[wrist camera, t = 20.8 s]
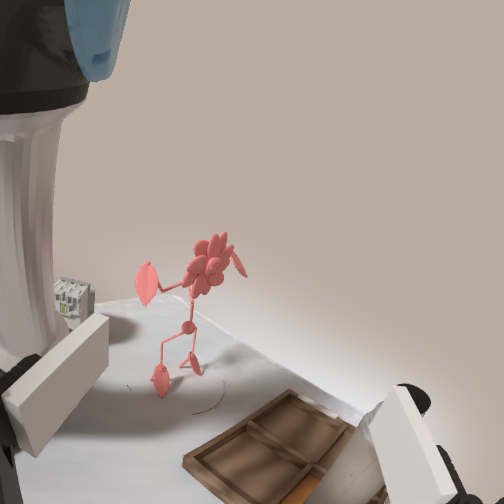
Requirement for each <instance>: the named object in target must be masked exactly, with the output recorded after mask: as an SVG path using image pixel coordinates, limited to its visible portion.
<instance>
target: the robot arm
mask: <svg viewBox="0 0 504 504" xmlns="http://www.w3.org/2000/svg"><path fill="white" fill-rule="evenodd" d="M130 1H131V0H0V504H23V500H22V496H21V491H20V487H19V482H18V476H17V471H16V465H15V459H14V452H13V449H14V447H15V446H16V444H17V442H18V444H19V447H20V448H21V449H22V450H24V451H25V452H27V453H29V454H30V455H32V456H33V457H35V458H37V457H38V455H39V454H40V453H41V451H42V450H43V449H44V447H45V446H46V445H47V443H48V442H49V441H50V439H51V438H52V437H53V435H54V434H55V433H56V431H57V430H58V429H59V427H60V426H61V425H62V424H63V422H64V421H65V420H66V418H67V417H68V416H69V414H70V413H71V412H72V411H73V410H74V409H76V408H77V407H78V405H79V403H80V400H81V399H82V398H83V397H84V395H85V394H86V393H87V392H88V390H89V389H90V388H91V387H92V385H93V384H94V383H95V382H96V380H97V379H98V378H99V377H100V375H101V374H102V373H103V372H104V370H105V369H106V368H107V367H108V349H109V319H110V317H107V316H104V315H102V314H99V313H96V312H95V313H93V314H92V315H91V316H90V317H89V318H88V319H86V320H85V321H84V322H83V323H82V324H80V325H79V326H78V327H77V328H76V329H75V330H73V329H72V328H68V325H67V323H66V321H65V319H64V318H63V316H62V315H61V314H60V313H59V312H58V311H57V310H56V307H55V296H54V281H53V259H52V221H53V196H54V183H55V171H56V161H57V152H58V145H59V138H60V131H61V125H62V122H63V120H64V119H65V118H66V117H67V116H68V115H70V114H71V113H72V112H73V111H75V110H76V109H77V108H79V107H80V106H81V105H82V104H83V103H84V102H85V100H86V96H87V92H88V87H89V83H90V81H92V82H98V81H100V80H105V79H107V78H109V77H110V75H111V74H112V71H113V69H114V66H115V63H116V59H117V53H118V50H119V45H120V41H121V38H122V34H123V30H124V26H125V22H126V18H127V14H128V9H129V5H130ZM368 427H369V430H370V433H371V436H372V440H373V443H374V446H375V450H376V453H377V456H378V460H379V463H380V467H381V470H382V474H383V477H384V481H385V484H386V488H387V492H388V495H389V499H390V503H391V504H483V503H482V501H481V500H480V499H479V498H478V497H477V496H475V495H472V494H467V493H466V491H465V489H464V487H463V485H462V482H461V480H460V478H459V476H458V474H457V472H456V470H454V469H455V468H454V466H453V464H452V463H451V459H450V457H449V456H448V453H447V452H446V451H445V450H444V449H443V448H442V447H441V446H440V445H435V443H434V440H433V438H432V436H431V434H430V432H429V430H428V428H427V426H426V424H425V422H424V420H423V418H422V416H421V414H420V413H419V411H418V409H417V407H416V405H415V403H414V401H413V399H412V397H411V395H410V393H409V392H408V390H407V388H406V387H404V386H395V385H393V386H392V388H391V389H390V392H389V393H388V395H387V397H386V398H385V400H384V402H383V403H382V405H381V407H380V408H379V410H378V412H377V413H376V415H375V417H374V418H373V420H372V422H371V423H370V425H369V426H368ZM495 504H504V497H503V498H501V499H500V500H499V501H498V502H497V503H495Z"/></svg>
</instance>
